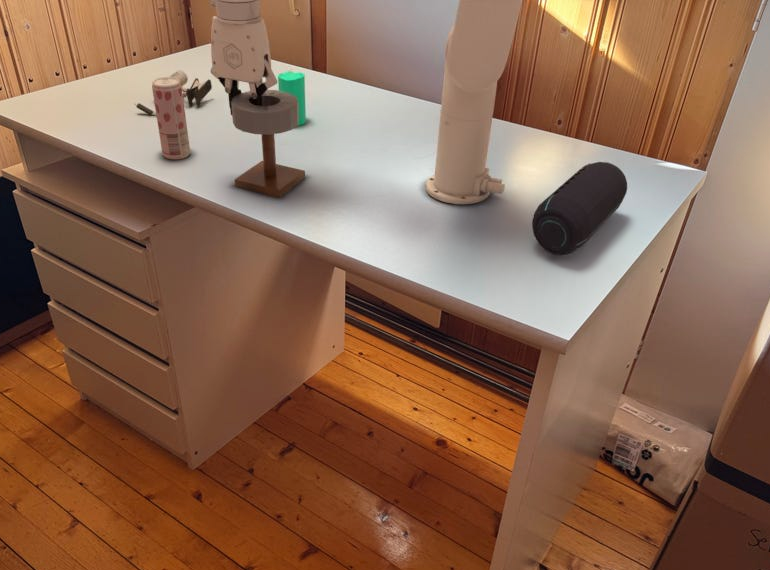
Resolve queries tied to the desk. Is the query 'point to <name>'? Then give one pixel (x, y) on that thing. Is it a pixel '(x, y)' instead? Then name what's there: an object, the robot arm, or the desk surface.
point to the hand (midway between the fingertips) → (246, 114)
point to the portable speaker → (579, 208)
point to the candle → (294, 90)
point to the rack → (270, 173)
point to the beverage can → (171, 117)
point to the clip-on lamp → (186, 90)
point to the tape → (265, 113)
